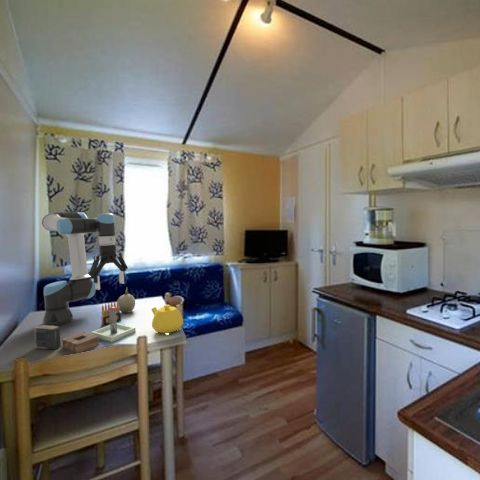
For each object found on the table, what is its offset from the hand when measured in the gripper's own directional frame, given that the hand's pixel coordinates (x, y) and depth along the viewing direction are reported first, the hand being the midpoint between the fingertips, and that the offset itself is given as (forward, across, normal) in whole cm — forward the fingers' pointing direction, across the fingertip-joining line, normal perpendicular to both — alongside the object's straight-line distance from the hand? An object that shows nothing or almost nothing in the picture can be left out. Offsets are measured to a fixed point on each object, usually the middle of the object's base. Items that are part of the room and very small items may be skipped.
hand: (110, 286), depth 145 cm
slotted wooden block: (+25, -16, +2) cm, 30 cm away
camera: (+25, -24, +15) cm, 38 cm away
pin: (+24, 0, 0) cm, 24 cm away
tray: (+25, 0, 0) cm, 25 cm away
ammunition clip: (+25, +10, +16) cm, 31 cm away
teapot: (+25, +16, -21) cm, 36 cm away
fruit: (+26, +27, +24) cm, 44 cm away
